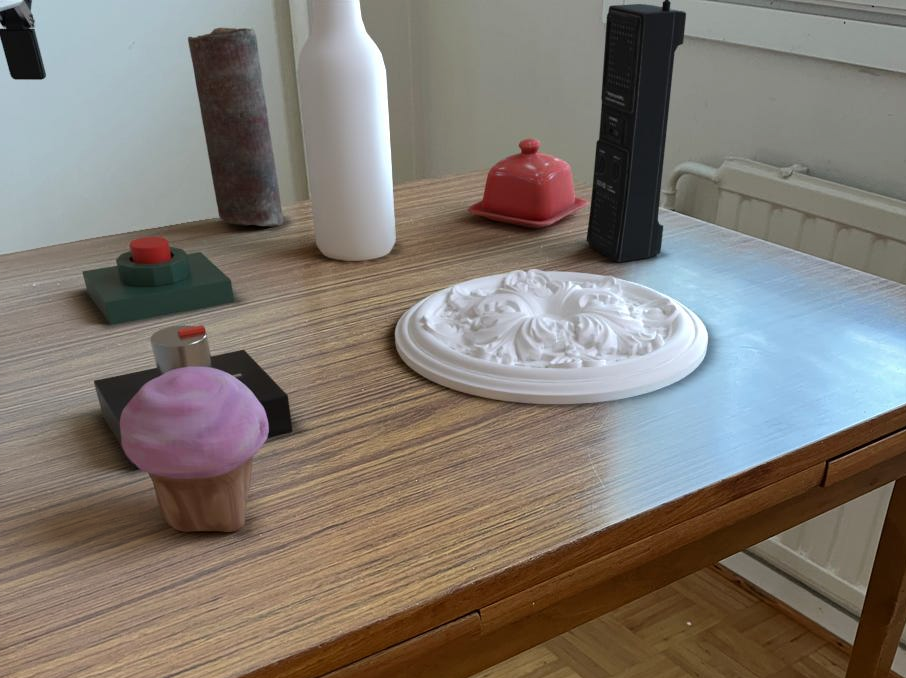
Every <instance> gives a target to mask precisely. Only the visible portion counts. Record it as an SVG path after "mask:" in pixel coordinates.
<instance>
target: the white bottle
mask: <svg viewBox="0 0 906 678" xmlns="http://www.w3.org/2000/svg"><path fill="white" fill-rule="evenodd" d="M360 3H361V2H360V0H312V25H311V30H310V34H309V36H308V38H307V39H306V41H305V43H304V44H303V46H302V48H301V50H300V53H299V55H298V56H299V57H298V65H297V80H298V81H297V82H298V90H299V91H298V93H299V99H300V107H301V108H300V109H301V117H302V118H301V119H302V128H303V137H304V146H305V155H306V165H307V166H306V167H307V172H308V173H307V174H308V183H309V192H310V200H311V201H310V202H311V211H312V220H313V230H314V238H315V239H314V240H315V244H316V247H317V248H318V250H319V251H320V252H321V254H322V255H323V256H325V257H327V258H330V259H333V260H338V261H339V260H340V261H345V262H347V261H348V262H354V261H355V262H359V261H360V262H361V261H368V260H369V261H371V260H374V259H378V258H381V257H384V256H387V255H388V254H389V253H390V252H391V251H392V250H393V248H394V246H395V244H396V241H397V240H396V239H397V237H396V219H395V203H394V186H393V169H392V151H391V136H390V135H391V133H390V118H389V117H390V116H389V101H388V99H389V98H388V84H387V83H388V82H387V70H386V66H385V63H384V58H383V55H382V52H381V50H380V49H379V47H378V46H377V44H376V43H375V42H374V40H373V39H372V37H371V36H370V35H369V33H368V32H367V30H366V28H365V24H364V22H363V19H362V12H361V4H360Z"/></svg>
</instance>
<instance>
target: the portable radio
mask: <svg viewBox="0 0 906 678" xmlns="http://www.w3.org/2000/svg"><path fill="white" fill-rule="evenodd" d="M671 4H672V3H671V1H670V0H664V1H662V6H659V5H654V4H645V3H632V4H631V3H630V4H617V5H616V4H615V5H610V6H609V7H608V13H607V14H606V21H605V24H606V25H605V39H604V54H603V68H602V82H601V96H600V97H601V99H600V100H601V105H600V106H601V108H600V121H599V135H598V140H597V141H596V143H595V144H596V145H595V155H594V157H595V158H594V165H593V177H592V178H593V179H592V188H591V198H590V206H589V207H590V209H589V217H588V224H587V232H586V240H585V241H586V242H587V243H588V246H590V247H591V248H592V249H594V250H595V251H597V252H599V253H601V254H602V255H605V256H606V257H608V258H609V259H611V260H613V261H614V262H617V263H624V262H630V261H637V260H643V259H648V258H652V257H654V256H657V255H659V254H661V251H662V243H663V234H664V225H663V224H661V223H660V222H659V211H660V200H661V191H662V190H661V189H662V181H663V180H662V179H663V170H664V161H665V150H666V140H667V130H668V123H669V111H670V102H671V94H672V93H671V92H672V81H673V73H674V72H673V71H674V63H675V55H676V50H677V49H678V48H679V46H681V45H683V44H684V40H685V39H684V38H685V30H686V20H687V12H686V11H684V10H678V9H673V8H671Z"/></svg>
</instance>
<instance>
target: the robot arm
mask: <svg viewBox="0 0 906 678" xmlns="http://www.w3.org/2000/svg"><path fill="white" fill-rule="evenodd" d="M32 4H33V0H0V25H1V27H2V28H0V42H1V45H2V49H3V53H4V56H5V60H6V65H7V68H8V72H9V75H10V77H11V78H12V79H13V80H16V81H17V80H19V81H20V80H21V81H22V80H23V81H24V80H25V81H29V80H31V81H41V80H44V79H46V77H47V72H46V69H45V64H44V61H43V57H42V53H41V48H40V45H39V41H38V37H37V33H36V29H35V27H36V19H35V15H34V14H33V13H32V6H33V5H32Z"/></svg>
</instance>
